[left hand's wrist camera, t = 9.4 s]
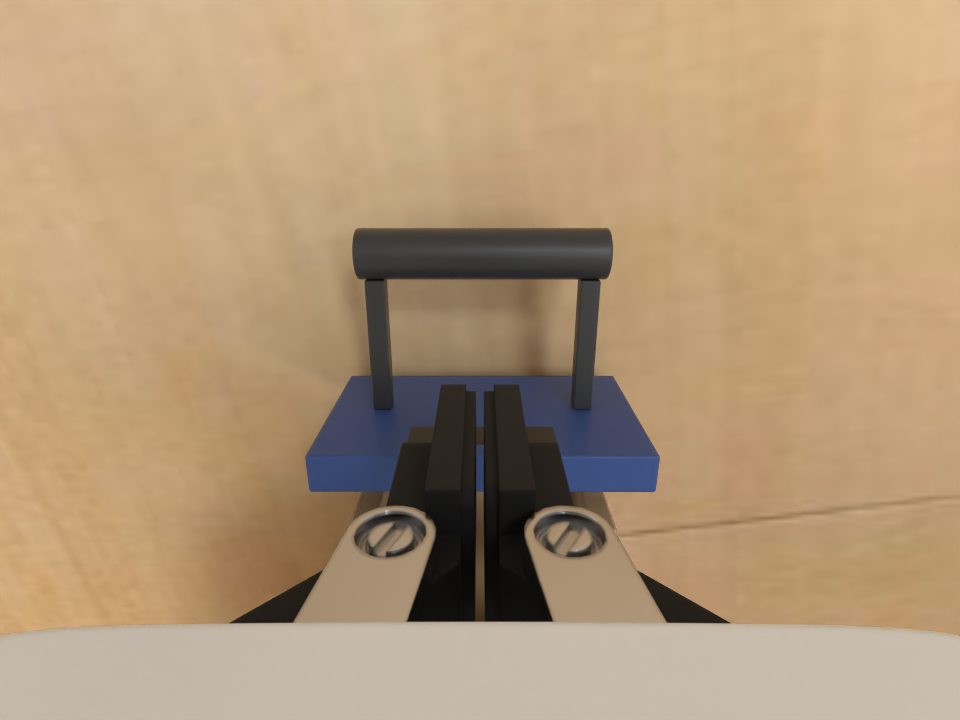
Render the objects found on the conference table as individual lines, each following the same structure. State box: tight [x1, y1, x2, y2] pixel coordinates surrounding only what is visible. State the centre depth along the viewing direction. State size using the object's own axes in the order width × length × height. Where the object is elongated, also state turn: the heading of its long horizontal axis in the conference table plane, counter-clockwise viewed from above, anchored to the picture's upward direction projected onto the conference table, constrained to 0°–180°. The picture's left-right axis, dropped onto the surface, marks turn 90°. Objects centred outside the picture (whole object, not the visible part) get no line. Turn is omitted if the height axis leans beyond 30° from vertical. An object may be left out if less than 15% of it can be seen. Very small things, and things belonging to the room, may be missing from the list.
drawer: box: [305, 228, 660, 622], centre depth 21 cm, size 25×10×6 cm, turn 0°
